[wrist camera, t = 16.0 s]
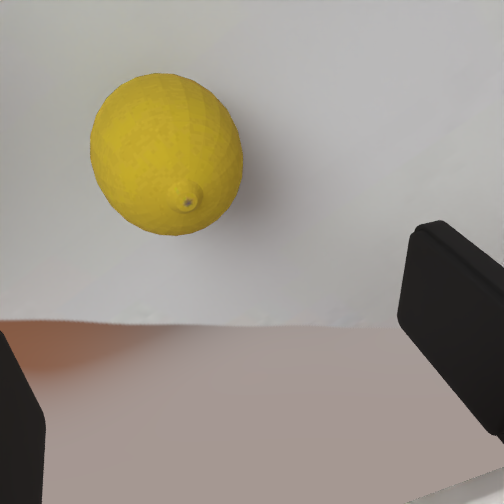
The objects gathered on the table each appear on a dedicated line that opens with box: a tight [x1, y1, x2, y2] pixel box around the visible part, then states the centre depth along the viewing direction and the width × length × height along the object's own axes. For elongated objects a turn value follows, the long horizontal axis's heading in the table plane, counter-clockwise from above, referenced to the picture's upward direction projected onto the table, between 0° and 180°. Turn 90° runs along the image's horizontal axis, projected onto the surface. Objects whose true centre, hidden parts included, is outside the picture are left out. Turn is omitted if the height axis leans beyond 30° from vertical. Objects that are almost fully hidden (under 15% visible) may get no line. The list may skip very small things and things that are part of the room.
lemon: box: [90, 73, 243, 236], centre depth 18 cm, size 6×6×8 cm
